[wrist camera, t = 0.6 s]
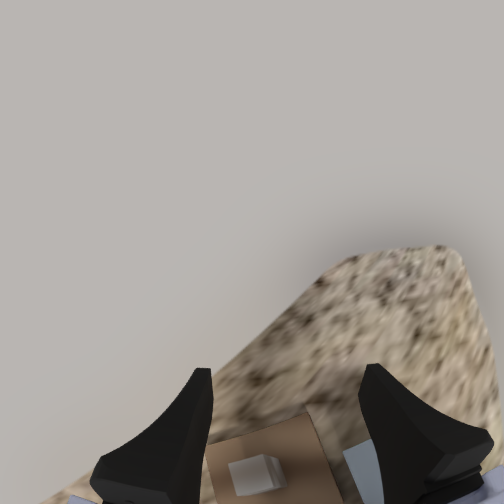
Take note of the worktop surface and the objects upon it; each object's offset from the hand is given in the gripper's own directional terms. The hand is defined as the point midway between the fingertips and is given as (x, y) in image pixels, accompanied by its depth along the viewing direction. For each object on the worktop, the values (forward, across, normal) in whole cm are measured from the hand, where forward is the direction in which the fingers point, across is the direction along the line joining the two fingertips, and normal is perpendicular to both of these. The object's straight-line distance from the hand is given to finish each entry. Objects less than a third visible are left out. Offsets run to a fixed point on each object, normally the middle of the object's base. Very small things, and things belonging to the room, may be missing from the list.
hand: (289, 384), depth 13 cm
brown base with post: (+4, 0, +17) cm, 18 cm away
